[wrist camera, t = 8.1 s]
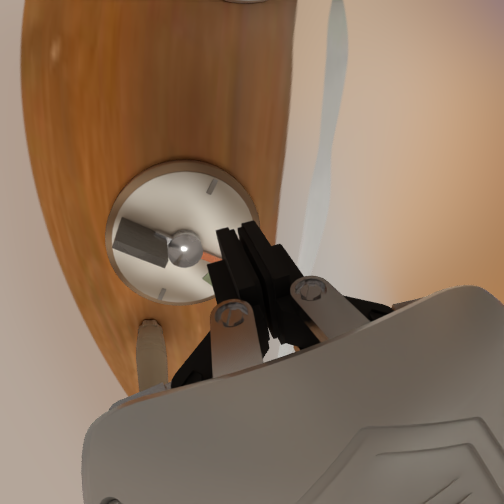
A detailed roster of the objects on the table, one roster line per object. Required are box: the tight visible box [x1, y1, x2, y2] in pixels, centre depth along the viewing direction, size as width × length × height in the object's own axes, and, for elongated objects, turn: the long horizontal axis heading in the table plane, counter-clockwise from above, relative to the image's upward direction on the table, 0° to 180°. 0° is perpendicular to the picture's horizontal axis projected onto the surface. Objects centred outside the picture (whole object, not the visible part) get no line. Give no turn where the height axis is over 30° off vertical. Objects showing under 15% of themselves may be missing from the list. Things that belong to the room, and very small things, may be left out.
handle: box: [136, 320, 168, 392], centre depth 30 cm, size 5×6×15 cm
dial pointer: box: [112, 217, 222, 268], centre depth 27 cm, size 14×4×5 cm, turn 57°
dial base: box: [105, 159, 260, 305], centre depth 31 cm, size 17×17×2 cm
